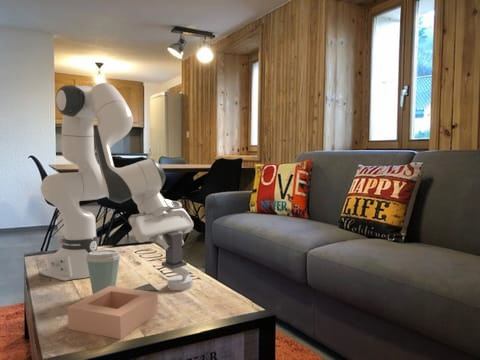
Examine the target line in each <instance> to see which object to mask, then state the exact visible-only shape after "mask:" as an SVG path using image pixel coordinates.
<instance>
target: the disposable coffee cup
mask: <svg viewBox="0 0 480 360" xmlns="http://www.w3.org/2000/svg"><path fill="white" fill-rule="evenodd" d="M121 258H122V255H121V253H120V251H119V250H116V249H100V250H99V249H97V251H93V252H90V253H88V255H87V257H86V260H87V264H88V270H89V276H90V277H89V281H90V286H91V292H92V293H91V294H92V295H93V294H94V293H96V292H98V291H100V290H102V289H104V288H106V287H108V286H114V287H117V280H118V273H119V266H120V259H121Z"/></svg>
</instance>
